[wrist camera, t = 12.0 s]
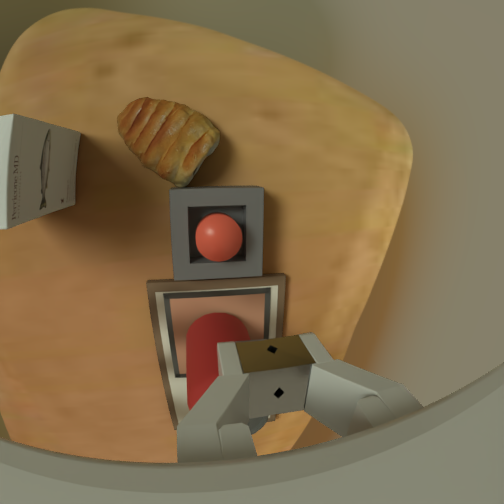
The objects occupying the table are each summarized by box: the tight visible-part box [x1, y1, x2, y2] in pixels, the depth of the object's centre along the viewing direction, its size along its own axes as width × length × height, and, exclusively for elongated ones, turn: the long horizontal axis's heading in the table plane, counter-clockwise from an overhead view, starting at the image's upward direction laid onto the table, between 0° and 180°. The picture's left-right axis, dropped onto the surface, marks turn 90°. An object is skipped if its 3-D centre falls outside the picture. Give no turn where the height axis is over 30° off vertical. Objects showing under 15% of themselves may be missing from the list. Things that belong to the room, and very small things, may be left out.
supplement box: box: [0, 114, 81, 229], centre depth 17 cm, size 7×7×13 cm
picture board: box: [146, 273, 286, 430], centre depth 32 cm, size 22×14×1 cm, turn 179°
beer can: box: [186, 312, 269, 435], centre depth 25 cm, size 7×7×12 cm
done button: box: [195, 212, 242, 262], centre depth 25 cm, size 4×4×2 cm
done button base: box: [169, 186, 264, 281], centre depth 27 cm, size 8×8×3 cm
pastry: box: [117, 97, 220, 188], centre depth 23 cm, size 9×7×4 cm
